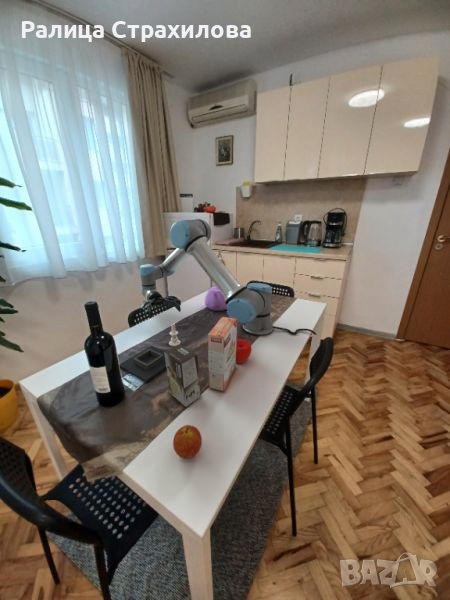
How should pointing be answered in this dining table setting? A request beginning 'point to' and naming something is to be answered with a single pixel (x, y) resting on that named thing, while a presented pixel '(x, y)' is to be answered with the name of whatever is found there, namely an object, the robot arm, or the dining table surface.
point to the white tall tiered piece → (174, 336)
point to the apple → (242, 350)
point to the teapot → (215, 299)
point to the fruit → (187, 441)
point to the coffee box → (183, 374)
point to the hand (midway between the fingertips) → (165, 312)
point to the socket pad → (146, 364)
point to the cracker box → (222, 352)
